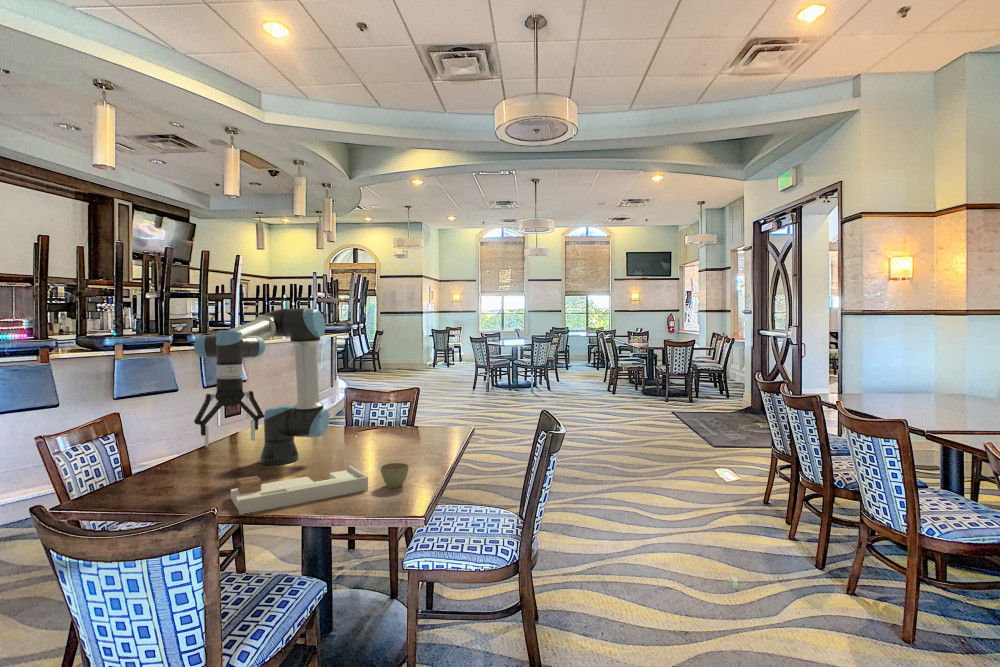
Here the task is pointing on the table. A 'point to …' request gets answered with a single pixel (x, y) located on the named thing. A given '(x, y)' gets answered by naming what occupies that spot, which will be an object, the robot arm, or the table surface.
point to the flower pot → (394, 474)
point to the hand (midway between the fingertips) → (230, 442)
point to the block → (249, 484)
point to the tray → (299, 491)
